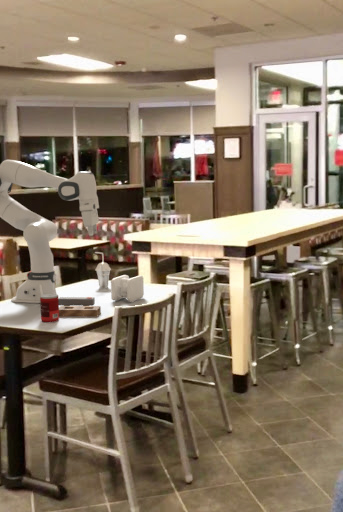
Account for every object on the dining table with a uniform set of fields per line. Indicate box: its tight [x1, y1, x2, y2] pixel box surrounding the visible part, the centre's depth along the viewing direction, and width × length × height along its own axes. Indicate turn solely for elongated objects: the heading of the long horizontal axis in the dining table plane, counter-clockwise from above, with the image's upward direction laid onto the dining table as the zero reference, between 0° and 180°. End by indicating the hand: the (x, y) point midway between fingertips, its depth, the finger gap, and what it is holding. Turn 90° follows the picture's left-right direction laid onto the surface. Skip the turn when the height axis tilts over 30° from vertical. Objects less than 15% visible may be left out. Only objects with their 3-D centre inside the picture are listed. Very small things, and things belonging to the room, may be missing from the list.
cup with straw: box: [94, 251, 112, 289], centre depth 369 cm, size 8×9×20 cm
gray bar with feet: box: [58, 296, 96, 306], centre depth 314 cm, size 16×4×6 cm, turn 85°
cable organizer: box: [110, 274, 145, 303], centre depth 336 cm, size 15×11×12 cm
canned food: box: [39, 293, 60, 323], centre depth 294 cm, size 8×8×11 cm
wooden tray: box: [59, 305, 102, 318], centre depth 305 cm, size 18×8×3 cm, turn 85°
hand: (93, 234), depth 325 cm, fingers open, 8 cm apart
